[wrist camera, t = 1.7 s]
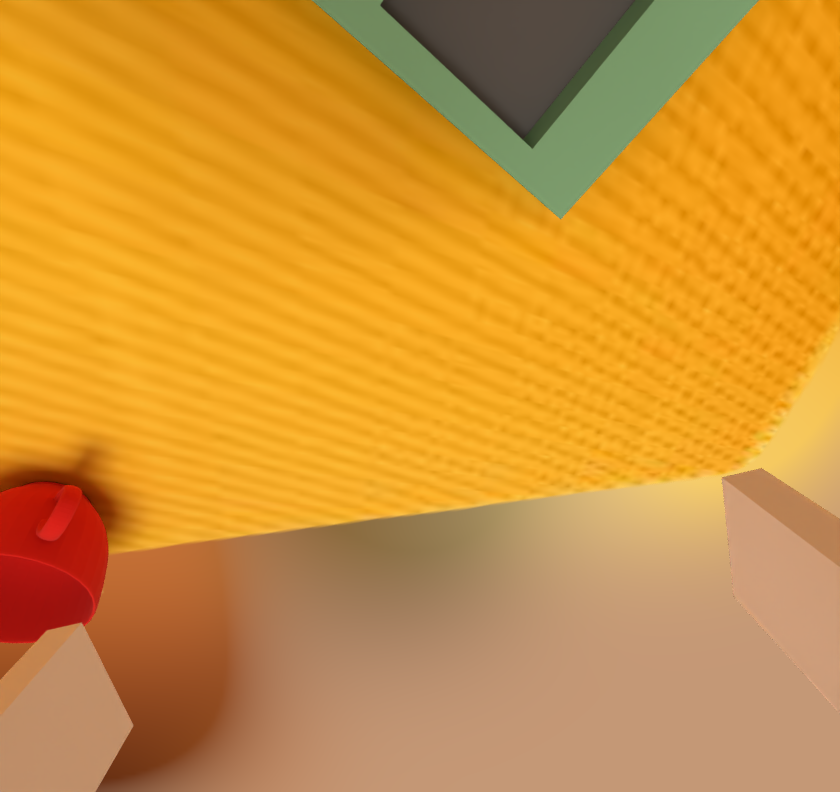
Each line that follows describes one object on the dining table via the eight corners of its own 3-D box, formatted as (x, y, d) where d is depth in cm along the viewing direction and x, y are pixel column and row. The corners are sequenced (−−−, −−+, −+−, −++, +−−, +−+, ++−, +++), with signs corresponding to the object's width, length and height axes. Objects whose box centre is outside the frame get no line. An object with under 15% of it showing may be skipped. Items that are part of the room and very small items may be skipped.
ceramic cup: (172, 466, 50) (145, 558, 42) (96, 561, 57) (60, 656, 49) (16, 404, 44) (-50, 499, 36) (-49, 520, 50) (-117, 621, 42)
